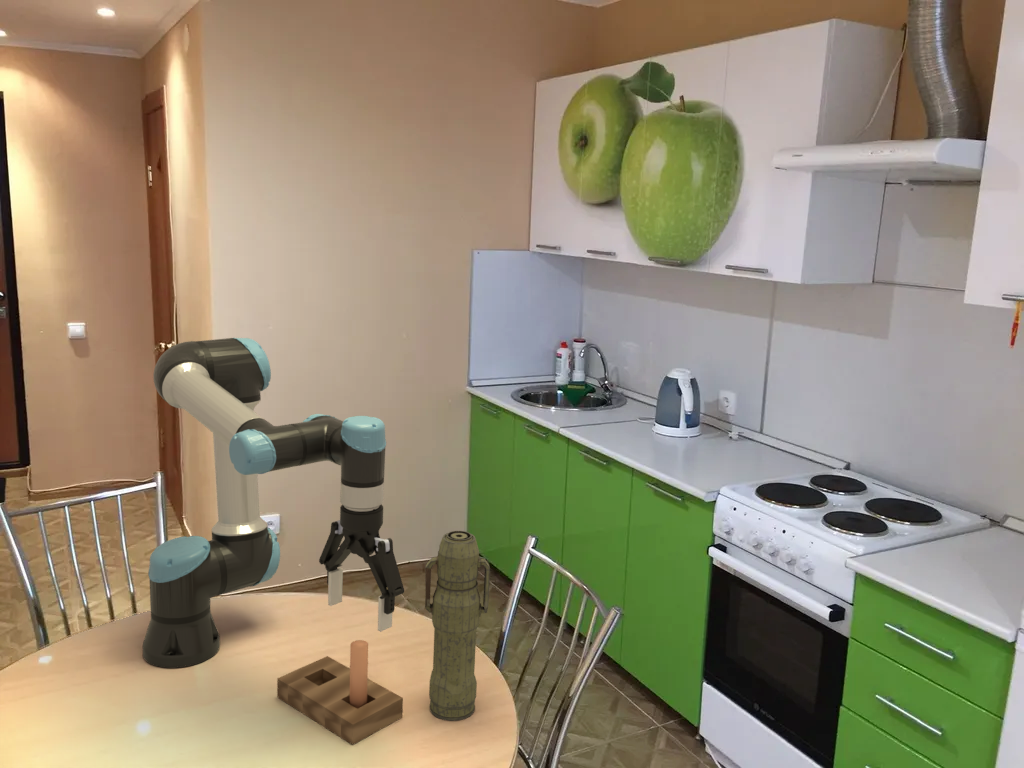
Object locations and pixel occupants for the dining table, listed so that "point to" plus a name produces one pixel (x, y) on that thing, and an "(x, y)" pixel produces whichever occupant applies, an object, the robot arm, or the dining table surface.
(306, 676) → the hole block
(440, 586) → the thermos
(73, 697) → the dining table surface
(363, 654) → the peg
